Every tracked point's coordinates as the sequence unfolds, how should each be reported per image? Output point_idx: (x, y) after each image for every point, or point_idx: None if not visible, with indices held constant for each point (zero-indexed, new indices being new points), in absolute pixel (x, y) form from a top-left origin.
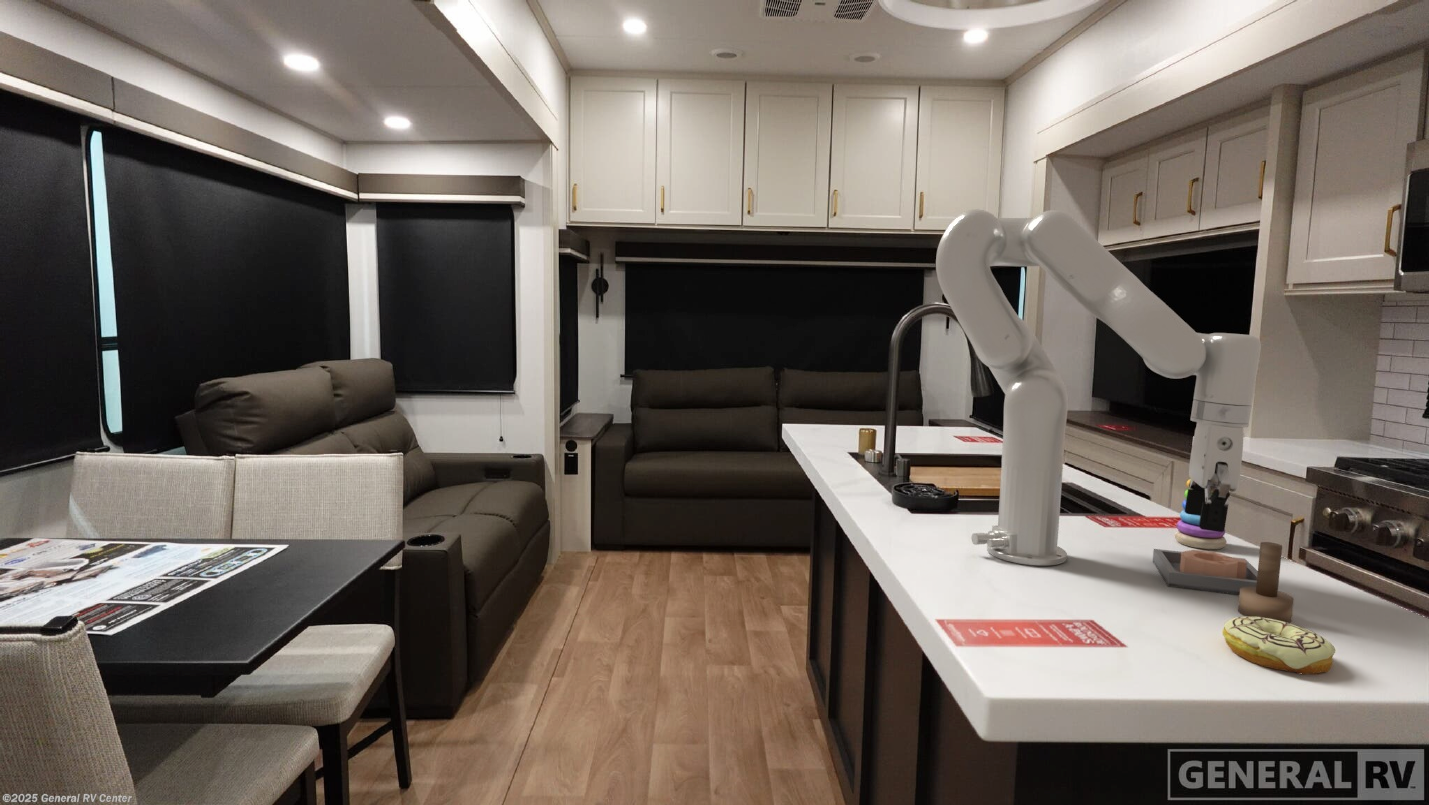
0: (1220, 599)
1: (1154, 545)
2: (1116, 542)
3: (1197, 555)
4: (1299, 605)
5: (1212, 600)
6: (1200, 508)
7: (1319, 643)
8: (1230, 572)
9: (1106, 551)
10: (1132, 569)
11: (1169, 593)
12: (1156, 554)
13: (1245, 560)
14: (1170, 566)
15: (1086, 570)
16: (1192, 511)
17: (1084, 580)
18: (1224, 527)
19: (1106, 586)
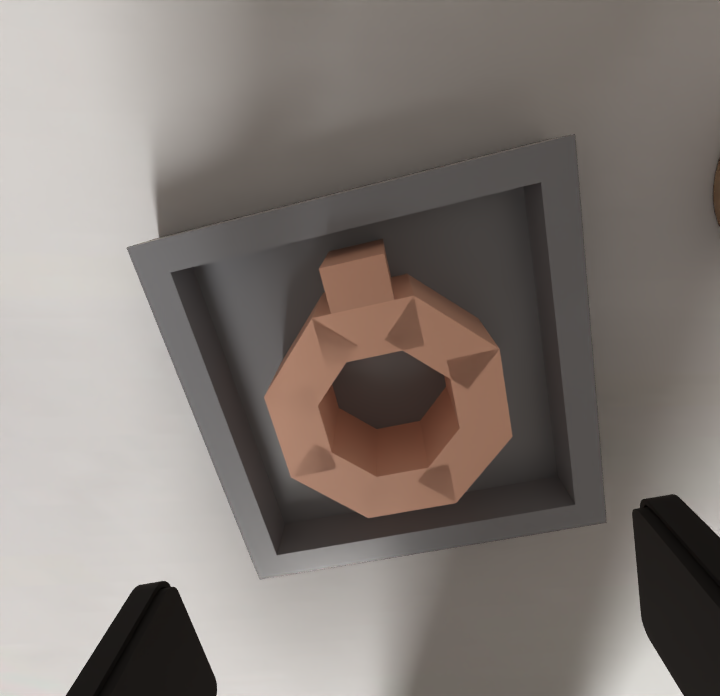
0: (656, 324)
1: (19, 542)
2: (93, 640)
3: (346, 454)
4: (579, 8)
5: (685, 350)
6: (170, 672)
7: None
8: (456, 312)
9: (246, 655)
10: (425, 583)
11: (666, 477)
12: (327, 564)
13: (167, 246)
14: (509, 522)
15: (527, 682)
16: (198, 678)
17: (645, 678)
18: (690, 513)
19: None
